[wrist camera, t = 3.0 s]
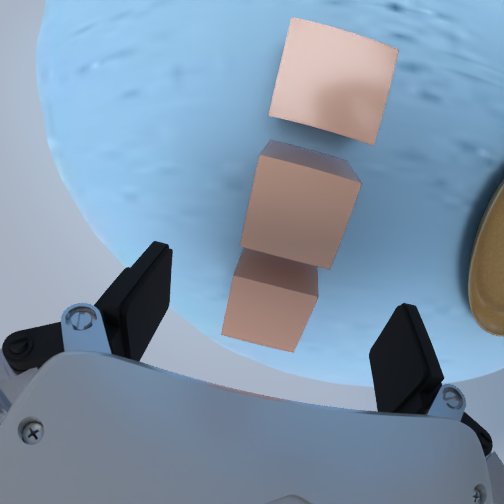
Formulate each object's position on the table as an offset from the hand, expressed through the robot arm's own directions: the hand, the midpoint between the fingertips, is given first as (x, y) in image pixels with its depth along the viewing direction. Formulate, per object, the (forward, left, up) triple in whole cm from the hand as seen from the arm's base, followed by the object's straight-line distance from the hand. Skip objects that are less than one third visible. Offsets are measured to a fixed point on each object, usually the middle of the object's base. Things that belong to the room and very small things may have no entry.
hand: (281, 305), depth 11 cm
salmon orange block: (+9, 0, -16) cm, 18 cm away
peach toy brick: (-9, 0, -16) cm, 18 cm away
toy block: (0, 0, -16) cm, 16 cm away
